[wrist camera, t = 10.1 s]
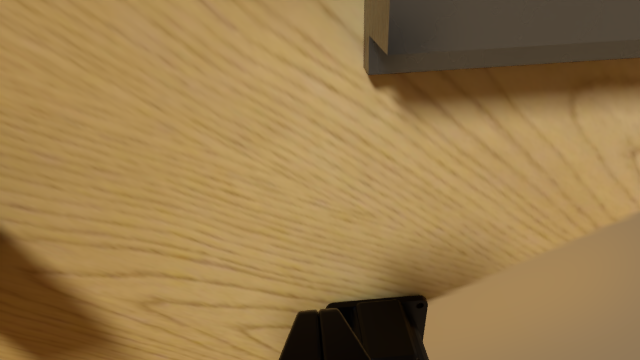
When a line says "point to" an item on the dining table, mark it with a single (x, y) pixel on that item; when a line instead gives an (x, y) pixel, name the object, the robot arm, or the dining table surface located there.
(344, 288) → the dining table surface
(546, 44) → the chute
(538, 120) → the dining table surface
